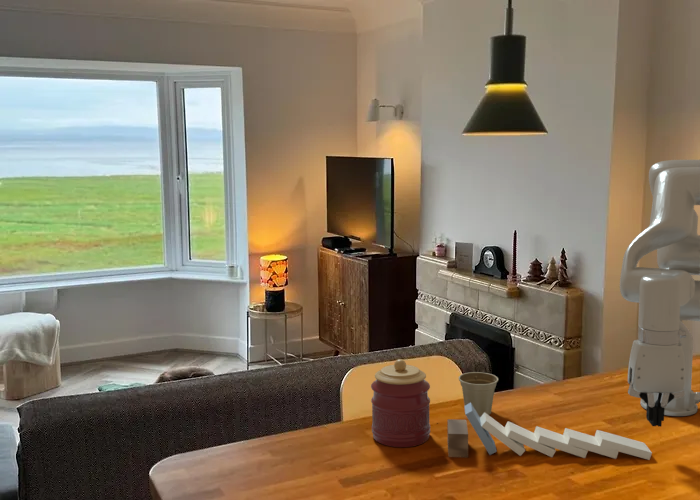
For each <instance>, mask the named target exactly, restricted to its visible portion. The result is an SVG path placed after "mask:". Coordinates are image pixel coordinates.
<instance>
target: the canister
mask: <svg viewBox="0 0 700 500" xmlns="http://www.w3.org/2000/svg"><path fill="white" fill-rule="evenodd" d="M374 378H375V380H374V381H373V382H371V384H370V388H371V390H372V391H373V396H372V397H371V400H370V402H371V405H372V407H371V413H372V417H371V418H372V421H371V422H372V425H371V433H372V437H373V439H374V440H375V441H376V442H377V443H379V444H381V445H384V446H387V447H393V448H410V447H415V446H419V445H422V444H425V442H427V441H428V440H429V438H430V433H431V424H430V404H431V399H430V397H429V396H428V394H429V393H428V392H429V390H430V388H431V385H430V382H428V381H427V380H426V378H427V373H425V372H424V371H423V370H421V369H420V368H419V367H417V366H415V365H410V364H407V363H406V361H405V360H404V359H401V358H400V359H399V358H398V359H396V360H395V362H394V364H389V365H386V366H383V367H382V368H381V369H380V370H378V371H376V372H375V374H374Z"/></svg>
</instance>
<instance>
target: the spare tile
mask: <svg viewBox="0 0 700 500" xmlns="http://www.w3.org/2000/svg"><path fill="white" fill-rule="evenodd" d="M463 407H464V413H465V414H464V415H465V416H466V418H467V420H468V421H469V423H470V424H471V426H472V428H473V430H474V431H475V432H476V435H477V437H478V438H479V440H480V441H481V443H482V445H483V446H484V448H485V450H486V452H487V453H488V455H489V456H491V455H493V454H494V453H496V452H497V447H496V444H495V440H494V439H493V437H492V434H491V433H489V432H488V431H487V430H485V429H484V428H483V427H482V426H481V421H480V417H481V416H480V417H479V415H478V414H477V412H476V410H475V409H474V407H473V405H472V404H471V403H469V404H467V405H464V406H463Z"/></svg>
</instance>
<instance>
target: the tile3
mask: <svg viewBox="0 0 700 500" xmlns="http://www.w3.org/2000/svg"><path fill="white" fill-rule="evenodd" d="M533 433H534V434H535V437H536V439H537V442H538V443H541V444H544V445H547V446H550V447H553V448H555V450H556V449H557V450H559V451H562V452H565V453H568V454H571V455H574V456H576V457H580V458H583V459H586V458H587V454H588V452H589V451H588V450H585V449H581V448H578V447H575V446H571V445H568V444H567V442H566V440H565V438H564V436H563V434H561V433H559V432H555V431H552V430H550V429H547V428H543V427H541V426H538V425H537V426H535V428H534V432H533Z"/></svg>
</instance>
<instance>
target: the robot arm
mask: <svg viewBox="0 0 700 500" xmlns="http://www.w3.org/2000/svg"><path fill="white" fill-rule="evenodd" d="M648 171H649V172H648V183H649V187H650V188H649V189H650V192H651V196H652V203H651V204H652V205H651V209H650V210H651V211H650V216H649V217H650V219H649V226H648V227H646V228H645V229H644V230H643V231H641V232H640V233H639V234H638V235H636V236H635V237H634V238H633V240H632V241H631V242H630V243H629V244H628V246H627V248H626V250H625V252H624V254H623V258H622V263H621V270H620V279H619V293H620V295H621V297H622V298H623V299H624V300H626V301H627V302H630V303H637V304H638V318H637V319H638V325H637V339H634V340H633V341H632V346H631V349H630V354H629V359H628V360H629V362H628V367H627V368H628V369H627V383H628V384H629V387H628V389H627V393H628V395H629V396H631V397H635V398H640V405H641V407H642V408H643V409H645V410H646V412H645V414H646V415H645V417H646V421H648V423H649V424H650V425H651V426H652V427H657V426H658V427H662V426H663V424H662V422H664V420H665V416H671V417H686V416H687V417H688V416H692V415H694V414H696V413H697V412H698V404H699V403H700V391H695V392H694V391H693V390H692V380H693V379H692V375H693V356H694V354H693V353H694V352H693V351H694V338H693V335H692V333H691V331H690V330H689V328H688V327H687V325H686V324H685V323H684V322H683V321H691V322H692V321H693V322H700V280H695V279H694V278H693V276H700V235H699V234H698V225H699V215H698V214H697V211H696V210H695V206H700V159H669V160H661V161H658V162H656V163H654V164H652V165H651V166H650V168H649V170H648ZM654 251H656V263H657V266H658V267H643V266H642V267H641V266H638V263H639V261H640V260H641V259H643V258H644V256H646V255H648V254H649V253H651V252H654Z"/></svg>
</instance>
